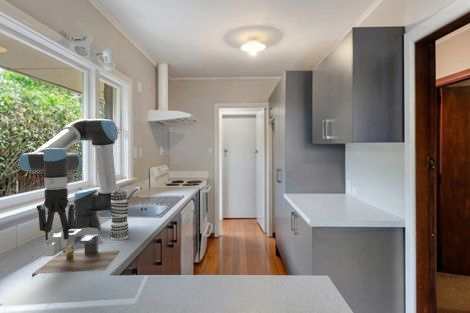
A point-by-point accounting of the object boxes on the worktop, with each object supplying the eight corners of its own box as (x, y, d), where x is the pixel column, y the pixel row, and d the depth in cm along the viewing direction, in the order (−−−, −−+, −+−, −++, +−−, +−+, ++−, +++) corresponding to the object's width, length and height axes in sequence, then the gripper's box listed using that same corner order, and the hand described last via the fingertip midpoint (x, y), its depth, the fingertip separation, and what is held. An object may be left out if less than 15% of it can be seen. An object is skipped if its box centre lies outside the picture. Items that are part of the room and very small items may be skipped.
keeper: (86, 255, 124) (86, 234, 124) (98, 254, 125) (97, 234, 125) (78, 262, 116) (78, 240, 116) (91, 262, 117) (90, 240, 117)
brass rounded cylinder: (68, 259, 120) (67, 242, 119) (75, 259, 120) (74, 241, 120) (64, 262, 117) (64, 244, 116) (71, 261, 117) (71, 244, 117)
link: (64, 239, 121) (64, 226, 121) (81, 239, 122) (81, 225, 122) (38, 256, 102) (38, 240, 102) (59, 255, 103) (58, 239, 103)
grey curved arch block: (66, 254, 126) (62, 231, 128) (62, 255, 129) (59, 233, 131) (103, 244, 138) (100, 224, 140) (99, 245, 141) (96, 225, 143)
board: (59, 256, 123) (59, 253, 123) (120, 253, 126) (120, 250, 126) (32, 276, 104) (32, 273, 104) (105, 273, 107) (105, 269, 106)
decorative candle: (110, 241, 142) (109, 192, 142) (110, 236, 151) (109, 190, 150) (129, 238, 146) (128, 191, 145) (128, 233, 155) (127, 189, 154)
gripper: (26, 189, 103) (28, 252, 104) (75, 188, 105) (76, 250, 106) (38, 187, 111) (39, 245, 111) (83, 186, 112) (84, 243, 113)
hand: (57, 247), depth 108 cm, fingers closed on link, 4 cm apart
